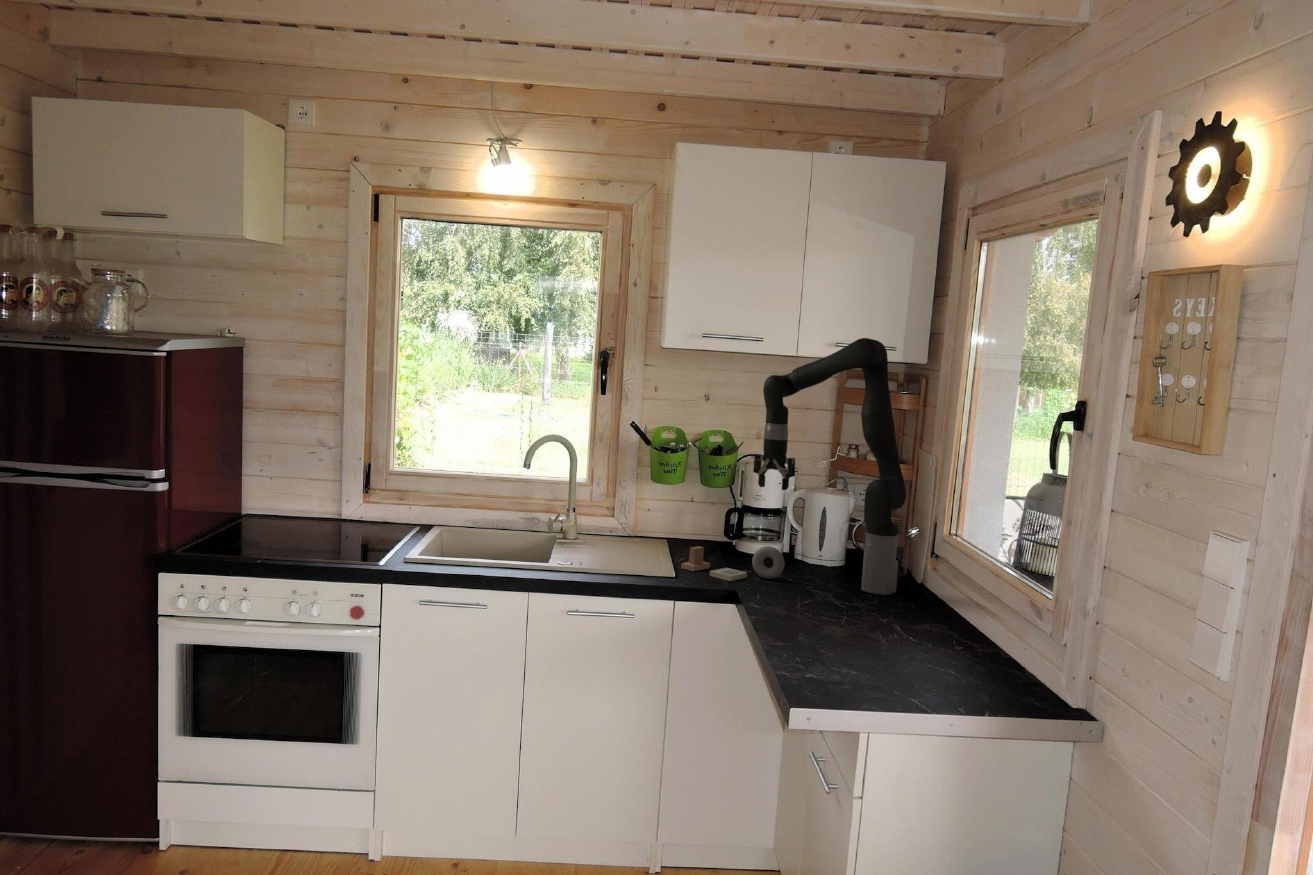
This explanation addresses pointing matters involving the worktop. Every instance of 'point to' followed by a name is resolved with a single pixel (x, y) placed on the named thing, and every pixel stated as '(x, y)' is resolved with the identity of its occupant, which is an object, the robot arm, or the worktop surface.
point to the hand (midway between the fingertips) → (773, 488)
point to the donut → (761, 568)
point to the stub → (695, 560)
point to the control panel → (728, 574)
